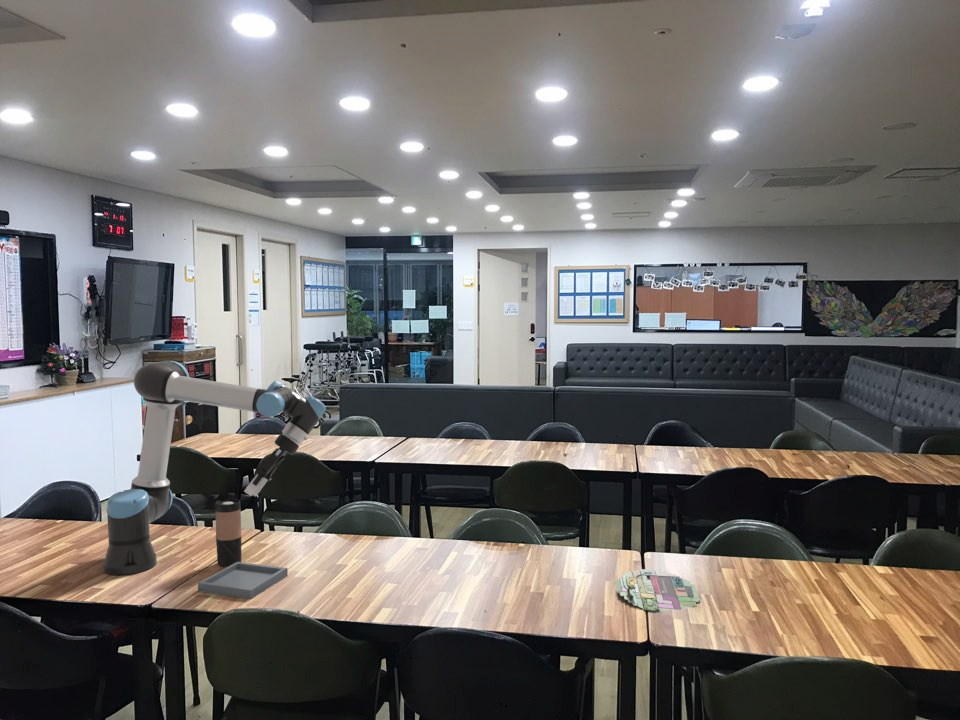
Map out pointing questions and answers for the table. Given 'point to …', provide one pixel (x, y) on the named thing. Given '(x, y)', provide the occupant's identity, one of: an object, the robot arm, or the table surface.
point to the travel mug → (228, 532)
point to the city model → (657, 590)
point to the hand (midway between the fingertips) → (249, 494)
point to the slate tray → (243, 580)
